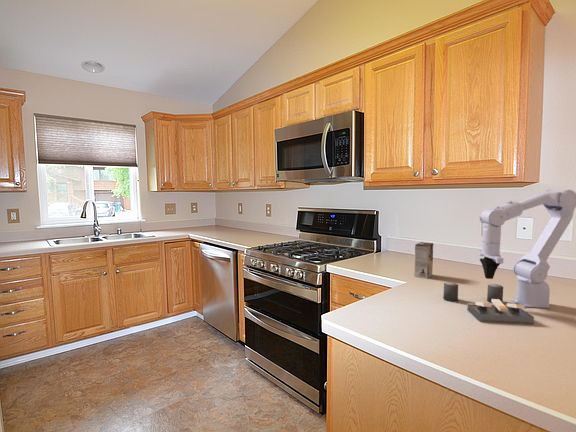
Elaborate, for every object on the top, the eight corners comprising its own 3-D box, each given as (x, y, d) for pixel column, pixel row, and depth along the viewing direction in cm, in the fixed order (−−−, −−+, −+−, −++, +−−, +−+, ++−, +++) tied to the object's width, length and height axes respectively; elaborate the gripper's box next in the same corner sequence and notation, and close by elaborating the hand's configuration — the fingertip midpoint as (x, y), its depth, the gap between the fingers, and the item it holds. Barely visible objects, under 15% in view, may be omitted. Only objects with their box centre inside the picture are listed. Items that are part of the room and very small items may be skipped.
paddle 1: (475, 304, 114) (475, 301, 114) (483, 305, 114) (483, 301, 114) (483, 306, 108) (483, 302, 108) (491, 306, 108) (491, 303, 108)
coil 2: (498, 299, 128) (499, 283, 127) (505, 304, 123) (506, 287, 122) (484, 299, 128) (485, 283, 128) (490, 303, 123) (491, 287, 123)
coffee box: (419, 272, 168) (420, 241, 167) (432, 274, 164) (433, 243, 163) (413, 276, 161) (415, 244, 159) (427, 278, 157) (428, 245, 155)
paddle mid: (491, 301, 113) (491, 298, 113) (498, 301, 113) (499, 298, 113) (499, 311, 108) (500, 308, 107) (507, 311, 107) (507, 308, 107)
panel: (516, 312, 114) (516, 303, 114) (533, 324, 105) (534, 314, 104) (467, 310, 117) (467, 301, 116) (479, 321, 107) (480, 311, 106)
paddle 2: (506, 306, 113) (506, 303, 113) (514, 306, 112) (514, 303, 112) (516, 308, 107) (516, 304, 107) (524, 308, 106) (524, 304, 107)
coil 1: (454, 297, 130) (455, 282, 129) (459, 302, 125) (460, 285, 124) (441, 297, 131) (442, 281, 130) (445, 301, 126) (446, 285, 125)
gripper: (471, 238, 128) (469, 272, 129) (488, 245, 114) (486, 283, 115) (490, 239, 127) (488, 273, 129) (510, 245, 113) (508, 284, 114)
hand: (489, 278), depth 122 cm, fingers closed
